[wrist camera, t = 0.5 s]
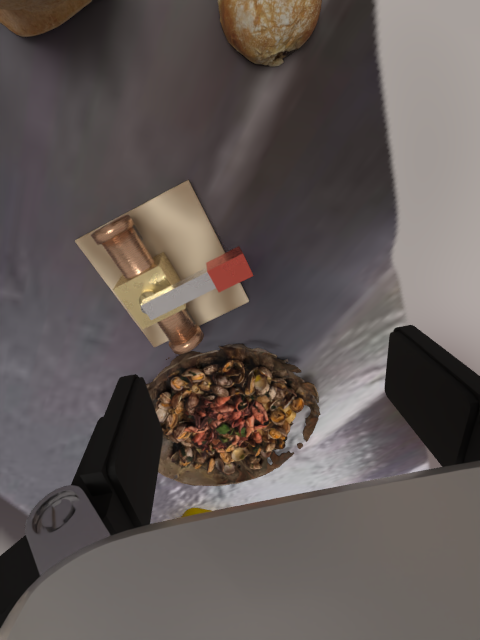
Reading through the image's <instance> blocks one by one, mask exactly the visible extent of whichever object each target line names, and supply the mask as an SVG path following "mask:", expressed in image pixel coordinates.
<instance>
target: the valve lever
mask: <svg viewBox="0 0 480 640" xmlns="http://www.w3.org/2000/svg"><path fill="white" fill-rule="evenodd" d="M206 266H207V268H205V269H203V270H201V271H199V272H197V273H195V274H193V275H191V276H189V277H187V278H185V279H183V280H181V281H179V282H177V283H175V284H173V285H171V286H169V287H167V288H165V289H163V290H161V291H159V292H157V293H155V294H153V295H151V296H149V297H146V298H145V299H143V300H142V303H141V311H142V312H143V313H145V314H147V315H148V317H149V318H150V319H151V320H153V319H155V318H157V317H159V316H161V315H163V314H165V313H167V312H169V311H171V310H173V309H175V308H177V307H179V306H181V305H183V304H185V303H187V302H189V301H191V300H193V299H195V298H197V297H199V296H201V295H203V294H205V293H207V292H209V291H212V290H214V289H217V290H218V292H221V291H223V290H225V289H227V288H230V287H232V286H234V285H236V284H238V283H240V282H242V281H244V280H246V279H248V278H250V277H252V276H253V274H252V272H251V270H250V267H249V265H248V263H247V261H246V259H245V257H244V255H243V253H242V251H241V249H240V247H239V246H238V247H236V248H234V249H232V250H231V251H229V252H227V253H225V254H223V255H221V256H219V257H217V258H215V259H213V260H211V261H209V262H207V263H206Z"/></svg>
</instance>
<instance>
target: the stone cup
mask: <svg viewBox="0 0 480 640" xmlns="http://www.w3.org/2000/svg"><path fill="white" fill-rule="evenodd" d="M91 1H92V0H0V23H2V24H3V25H5V26H6V27H7V28H8V29H9V30H10V31H12V32H13V33H15V34H16V35H19V36H22V37H29V36H36V35H39V34H42V33H45V32H48V31H50V30H52V29H54V28H56V27H58V26H60V25H61V24H63V23H64V22H66V21H67V20H69V19H70V18H71V17H72V16H74V15H75V14H76V13H77V12H79V11H80V10H81V9H82V8H84V7H85V6H86V5H87V4H89V3H90V2H91Z"/></svg>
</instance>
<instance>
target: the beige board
mask: <svg viewBox="0 0 480 640" xmlns="http://www.w3.org/2000/svg"><path fill="white" fill-rule="evenodd" d="M128 214H129V215H130V217H131V219H132V220H133V222H134V223H135V227H136V228H137V230H138V232H139V233H140V235H141V236H142V238H143V240H142V243H143V244H144V246H145V247H146V249H147V251H148V252H149V254H150V255H151V257H152V258H153V257H155V256H157V255H159V254H160V253H162V252H164V253H165V255H166V257H167V258H168V260H169V262H170V263H171V265H172V267H173V268H174V270H175V272H176V273H177V275H178V276H179V278H180V280H183V279H185V278H187V277H189V276H191V275H193V274H195V273H197V272H199V271H201V270H203V269H205V268H207V266H206V263H207V262H209V261H211V260H213V259H215V258H217V257H219V256H221V255H223V254H225V251H224V249H223V247H222V245H221V243H220V241H219V239H218V237H217V235H216V233H215V231H214V229H213V227H212V225H211V223H210V221H209V219H208V217H207V216H206V214H205V212H204V210H203V208H202V206H201V204H200V202H199V200H198V198H197V196H196V194H195V192H194V190H193V188H192V186H191V184H190V182H189V180H187V181H185V182H183V183H181V184H179V185H177V186H176V187H174V188H172V189H170V190H168V191H166V192H164V193H162V194H161V195H159V196H157V197H155V198H153V199H151V200H149V201H147V202H146V203H144V204H142V205H140V206H138V207H136V208H134V209H132V210H131V211H129V212H127V213H125V214H123V215H121V216H119V217H117V218H116V219H118V218H120V217H122V216H124V215H128ZM116 219H114V220H116ZM114 220H112V221H114ZM112 221H110V222H112ZM110 222H108V223H110ZM108 223H106V224H108ZM106 224H104V225H103V226H105V225H106ZM103 226H101V227H103ZM101 227H99V228H101ZM99 228H97V229H95V230H93V231H91V232H89V233H88V234H86V235H84V236H82V237H80V238H78V239H77V240H75V242H76V243H77V245H78V246H79V247H80V249H81V250H82V251H83V253H84V254H85V255H86V257H87V258H88V259H89V261H90V262H91V263H92V265H93V266H94V267H95V269H96V270H97V271H98V273H99V274H100V275H101V277H102V278H103V279H104V281H105V282H106V283H107V285H108V286H109V287H110V289H111V290H112V292H113V293H114V294H115V296H116V297H117V298H118V300H119V301H120V302H121V304H122V305H123V306H124V308H125V309H126V310H127V312H128V313H129V314H130V316H131V317H132V318H133V320H134V321H135V322H136V324H137V325H138V326H139V328H140V329H141V330H142V332H143V333H144V334H145V336H146V337H147V338H148V340H149V341H150V342H151V344H152V345H153V346H154V347H156V346H159V345H161V344H163V343H165V342H167V341H169V339H168V338H167V336H166V335H165V334H164V332H163V331H162V329H161V328H160V327H159V325H158V324H157V323H155V324H153V325H151V326H149V327H147V328H145V329H142V328H141V327H140V325H139V324H138V323H137V321H136V320H135V318H134V317H133V316H132V314H131V313H130V312H129V310H128V309H127V308H126V306H125V305H124V304H123V302H122V301H121V300H120V298H119V297H118V296H117V294H116V293H115V292H114V290H113V288H114V287H115V285H116V283H117V282H118V280H119V279H120V277H121V276H122V273H121V271H120V270H119V268H118V267H117V266H116V264H115V263H114V261H113V260H112V258H111V257H110V256H109V254H108V253H107V251H106V250H105V249H104V247H103V246H102V244H99V245H97V244H96V242H95V241H94V239H93V238H92V237H91V234H93V232H95V231H96V230H98V229H99ZM247 302H249V300H248V297H247V295H246V293H245V291H244V289H243V287H242V285H241V283H238V284H236V285H234V286H232V287H230V288H227V289H225V290H223V291H221V292H218V290H217V289H214V290H212V291H209V292H207V293H205V294H203V295H201V296H199V297H197V298H195V299H193V300H191V301H189V302H187V303H186V308H187V309H188V311H189V313H190V314H191V316H192V317H193V319H194V321H195V322H196V325H198V326H200V325H202V324H204V323H206V322H208V321H210V320H212V319H214V318H216V317H218V316H220V315H223V314H225V313H227V312H229V311H231V310H233V309H235V308H237V307H239V306H241V305H243V304H245V303H247Z"/></svg>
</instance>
